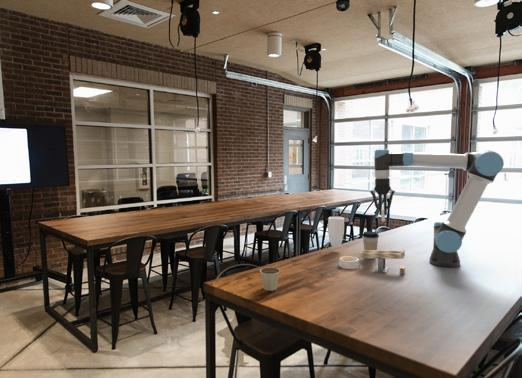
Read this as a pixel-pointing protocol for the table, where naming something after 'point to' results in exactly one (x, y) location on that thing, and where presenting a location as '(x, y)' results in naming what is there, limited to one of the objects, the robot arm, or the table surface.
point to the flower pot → (270, 278)
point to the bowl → (349, 262)
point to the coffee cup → (370, 241)
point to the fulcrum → (385, 267)
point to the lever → (382, 254)
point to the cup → (336, 231)
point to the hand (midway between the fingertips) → (383, 220)
